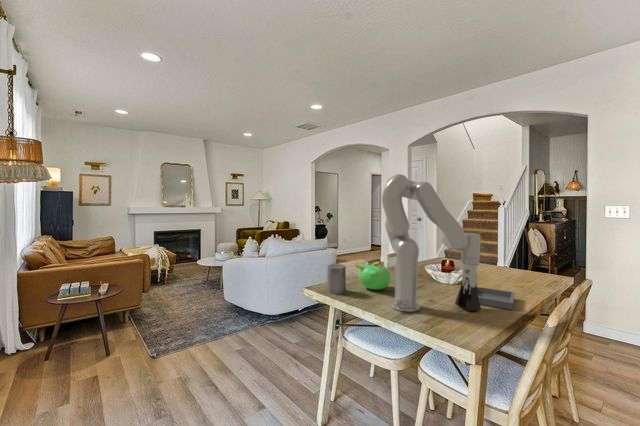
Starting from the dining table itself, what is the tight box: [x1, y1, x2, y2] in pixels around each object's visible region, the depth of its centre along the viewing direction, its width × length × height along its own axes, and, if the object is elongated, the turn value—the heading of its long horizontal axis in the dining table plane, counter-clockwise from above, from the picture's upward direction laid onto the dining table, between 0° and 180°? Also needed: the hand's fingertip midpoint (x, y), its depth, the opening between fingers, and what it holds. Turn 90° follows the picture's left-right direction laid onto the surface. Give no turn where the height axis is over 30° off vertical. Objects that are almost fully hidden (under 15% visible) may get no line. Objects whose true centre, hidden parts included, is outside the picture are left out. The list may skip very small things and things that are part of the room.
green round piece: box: [353, 261, 392, 291], centre depth 165 cm, size 18×17×15 cm
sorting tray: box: [477, 286, 515, 312], centre depth 147 cm, size 20×18×4 cm
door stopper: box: [454, 280, 482, 312], centre depth 136 cm, size 9×6×12 cm, turn 14°
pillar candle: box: [326, 263, 347, 295], centre depth 160 cm, size 10×10×15 cm
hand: (467, 300), depth 136 cm, fingers closed on door stopper, 5 cm apart
